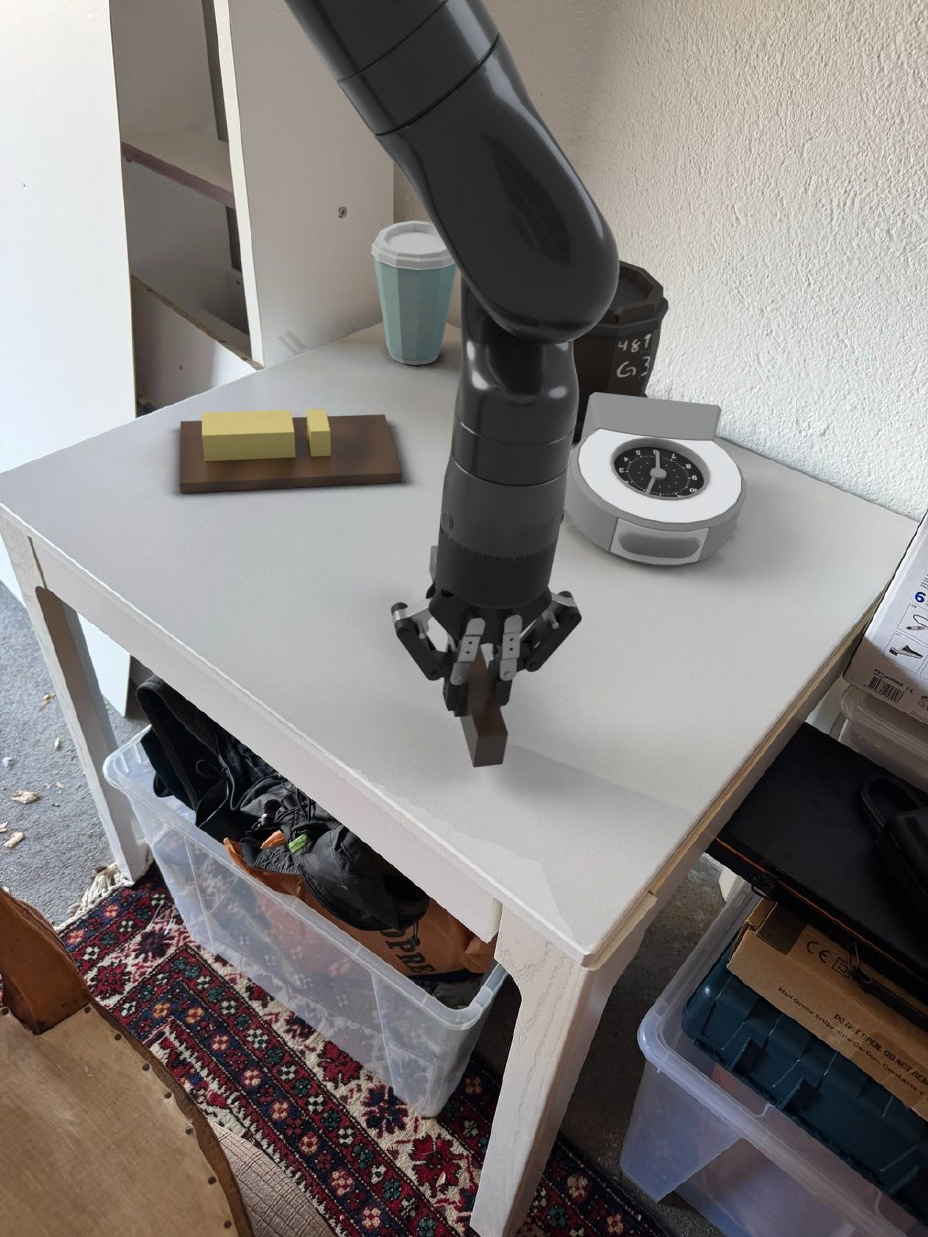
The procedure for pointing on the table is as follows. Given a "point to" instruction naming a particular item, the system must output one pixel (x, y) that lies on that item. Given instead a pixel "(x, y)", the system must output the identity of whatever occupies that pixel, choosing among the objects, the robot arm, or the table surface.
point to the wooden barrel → (621, 341)
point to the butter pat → (318, 432)
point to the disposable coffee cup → (413, 289)
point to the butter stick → (248, 435)
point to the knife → (480, 709)
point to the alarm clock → (653, 480)
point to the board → (296, 459)
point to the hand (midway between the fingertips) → (473, 706)
